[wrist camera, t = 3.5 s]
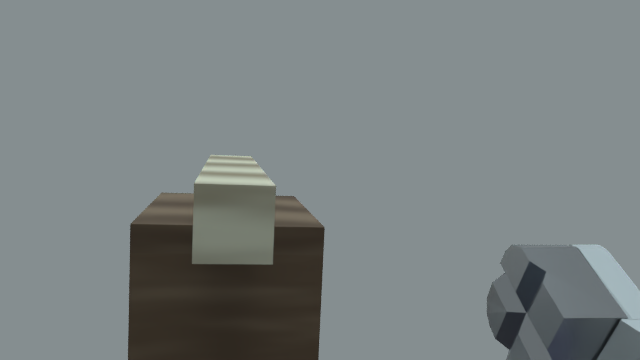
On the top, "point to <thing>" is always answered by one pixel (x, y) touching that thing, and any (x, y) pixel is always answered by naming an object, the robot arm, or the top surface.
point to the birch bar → (233, 213)
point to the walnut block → (223, 290)
